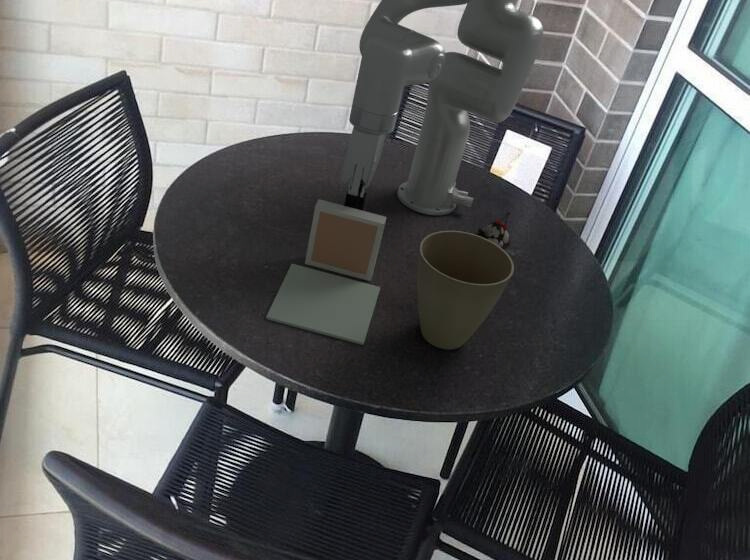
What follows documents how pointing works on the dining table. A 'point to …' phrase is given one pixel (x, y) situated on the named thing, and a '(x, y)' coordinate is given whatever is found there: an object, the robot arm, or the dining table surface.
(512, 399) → the dining table surface
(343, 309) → the mat
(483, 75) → the robot arm
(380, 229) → the tile
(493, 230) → the sundae
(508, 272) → the plant pot
